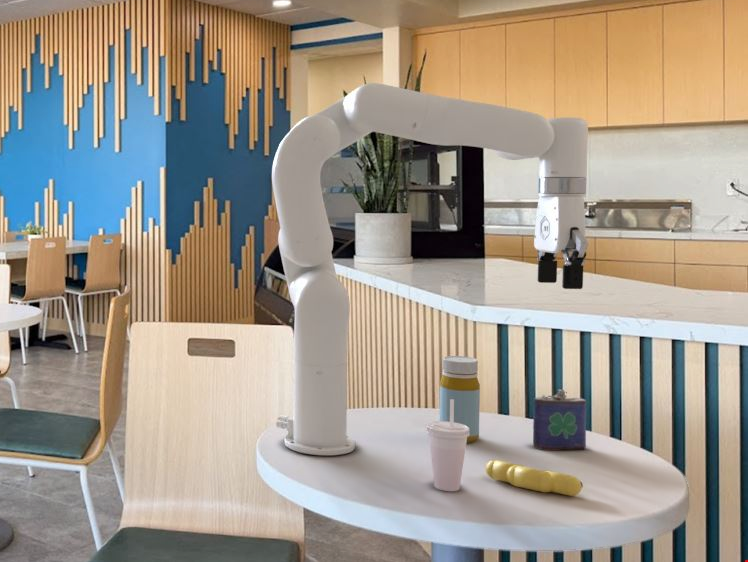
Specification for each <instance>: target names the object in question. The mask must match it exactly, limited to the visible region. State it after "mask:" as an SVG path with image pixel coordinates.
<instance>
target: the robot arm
mask: <svg viewBox="0 0 748 562" xmlns="http://www.w3.org/2000/svg"><path fill="white" fill-rule="evenodd" d="M588 125H589V124H588V122H587V120H585V119H584V118H581V117H573V116H572V117H571V116H569V117H568V116H567V117H566V116H564V117H563V116H562V117H552V118H546V117H544V116H542V115H541V114H538V113H534V112H531V111H527V110H521V109H517V108H512V107H507V106H502V105H496V104H490V103H485V102H477V101H470V100H465V99H459V98H453V97H446V96H441V95H436V94H431V93H425V92H421V91H417V90H412V89H408V88H403V87H399V86H393V85H389V84H385V83H377V82H370V83H365V84H362V85H360V86H358V87H357V88H355V89H354V90H353V91H351V92H350V93H348V94H347V95H345V96H344V97H342V98H341V99H339V100H338V101H336V102H334V103H332V104H331V105H329V106H328V107H326V108H323V109H322V110H319V112H317V113H315V114H312V115H308V116H306V117H304V118H303V119H301V120H300V121H299V122H297V123H296V124H295V125H294V126H293V127H292V128H291V129H290V130H289V131H288V132H287V133H286V134H285V136H284V137H283V139H282V140H281V141H280V143H279V145H278V147H277V149H276V152H275V155H274V158H273V162H272V167H271V182H272V191H273V196H274V202H275V206H276V213H277V218H278V222H279V228H280V229H279V231H278V235H277V240H278V241H277V243H278V248H279V253H280V257H281V258H280V259H281V263H282V267H283V272H284V276H285V280H286V286H287V289H288V293H289V297H290V301H291V304H292V305H293V308H294V327H293V401H292V402H293V405H292V407H293V408H292V409H293V410H292V411H293V412H292V414H293V416H292V417H290V416H289V415H283V414H279V415H278V417H277V420H276V422H275V426H276V428H278V429H282V430H283V429H285V430H286V431H287V434H286V435H285V436H284V445H285V447H287V448H288V449H289V450H292V451H294V452H297V453H301V454H306V455H311V456H312V455H313V456H340V455H345V454H349V453H351V452H353V451H354V450H355V449H356V441H355V439H354V438H352V437H351V436H348V435H347V425H348V424H347V422H348V421H347V420H348V418H347V417H348V416H347V415H348V412H347V410H348V407H347V406H348V335H349V323H350V312H351V302H350V297H349V294H348V291H347V288H346V287H345V285H344V284H343V282H342V281H341V280H340V279H339V278H338V276H337V272H336V267H335V263H334V258H333V253H332V251H333V248H334V235H333V232H332V229H331V226H330V222H329V218H328V214H327V210H326V206H325V201H324V197H323V195H324V194H323V190H322V183H321V171H322V168H323V166H324V164H325V162H327V160H329V159H331V158H332V157H333V156H334V155H335V154H337V153H339V152H340V151H342V150H344V149H346V148H347V147H349V146H351V145H353V144H355V143H356V142H358V141H360V140H362V139H363V138H364V137H366V136H368V135H370V134H371V133H379V134H383V135H388V136H392V137H393V136H394V137H397V138H402V139H407V140H410V141H416V142H421V143H425V144H430V145H434V146H435V145H436V146H446V147H447V146H448V147H449V146H464V147H474V148H481V149H487V150H492V151H493V152H494V153H495V154H496V155H497V156H498V157H500V158H503V159H506V160H508V161H509V160H510V161H518V160H525V159H527V160H528V159H535V158H538V159H539V160H538V161H539V162H538V165H539V166H538V196H537V197H539V198H538V203H537V207H536V215H535V223H534V237H533V239H534V240H533V247H534V248H535V250H536V251H537V256H536V257H537V282H538V283H542V284H546V283H547V284H555V283H557V282H558V281H557V279H558V260H556V258H557V255H558V254H559V253H560V252H561V255H562V258H563V260H564V264H563V265H562V283H561V284H562V285H561V287H562V288H563V289H565V290H582V289H583V287H584V266H585V265H586V261H585V259H586V257H587V250H588V246H589V240H588V239H587V238H586V211H585V210H586V209H585V198H586V197H587V173H588V171H587V170H588V145H589V144H588V140H589V126H588Z"/></svg>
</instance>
